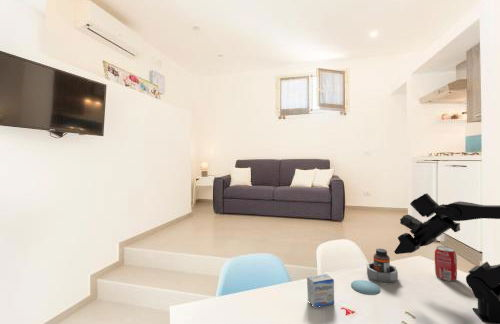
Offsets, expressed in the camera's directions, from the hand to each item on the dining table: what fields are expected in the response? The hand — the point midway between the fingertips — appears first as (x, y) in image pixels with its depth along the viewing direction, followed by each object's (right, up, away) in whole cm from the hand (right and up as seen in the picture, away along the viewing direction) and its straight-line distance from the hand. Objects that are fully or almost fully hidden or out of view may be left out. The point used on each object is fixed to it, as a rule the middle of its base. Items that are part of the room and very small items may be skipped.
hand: (401, 250), depth 97 cm
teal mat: (-15, -14, -1) cm, 20 cm away
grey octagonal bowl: (-4, -13, +6) cm, 15 cm away
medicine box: (-34, -14, -11) cm, 39 cm away
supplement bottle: (-4, -14, +6) cm, 16 cm away
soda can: (+21, -13, +4) cm, 25 cm away
